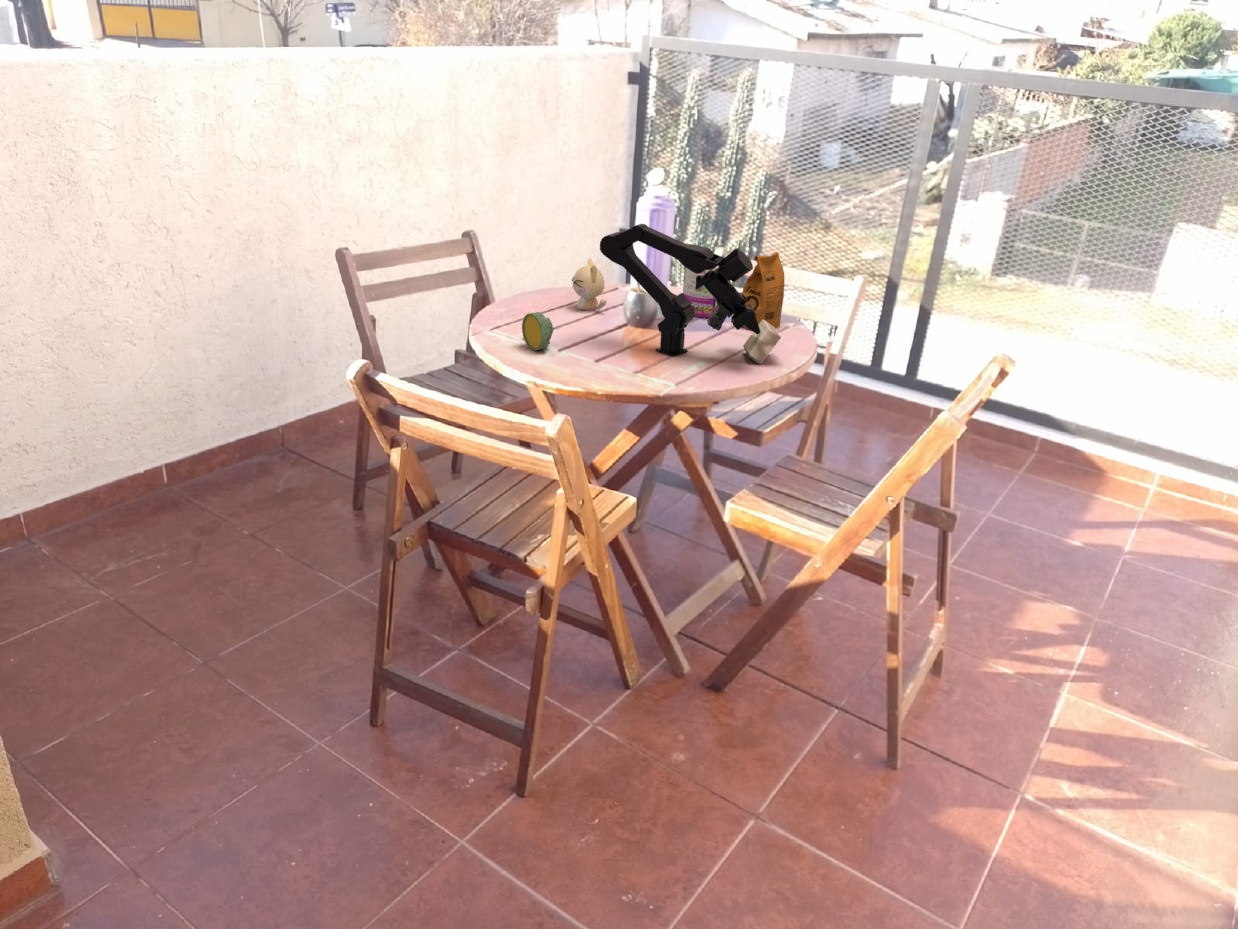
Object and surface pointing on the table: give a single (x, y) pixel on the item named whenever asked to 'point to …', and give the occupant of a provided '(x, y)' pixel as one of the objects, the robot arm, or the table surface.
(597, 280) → the kitten
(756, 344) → the marked block
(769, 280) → the coffee package
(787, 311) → the table surface
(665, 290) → the robot arm
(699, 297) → the candy bar box
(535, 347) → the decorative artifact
